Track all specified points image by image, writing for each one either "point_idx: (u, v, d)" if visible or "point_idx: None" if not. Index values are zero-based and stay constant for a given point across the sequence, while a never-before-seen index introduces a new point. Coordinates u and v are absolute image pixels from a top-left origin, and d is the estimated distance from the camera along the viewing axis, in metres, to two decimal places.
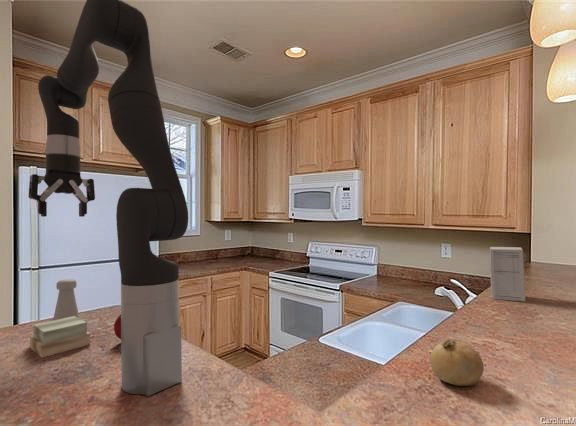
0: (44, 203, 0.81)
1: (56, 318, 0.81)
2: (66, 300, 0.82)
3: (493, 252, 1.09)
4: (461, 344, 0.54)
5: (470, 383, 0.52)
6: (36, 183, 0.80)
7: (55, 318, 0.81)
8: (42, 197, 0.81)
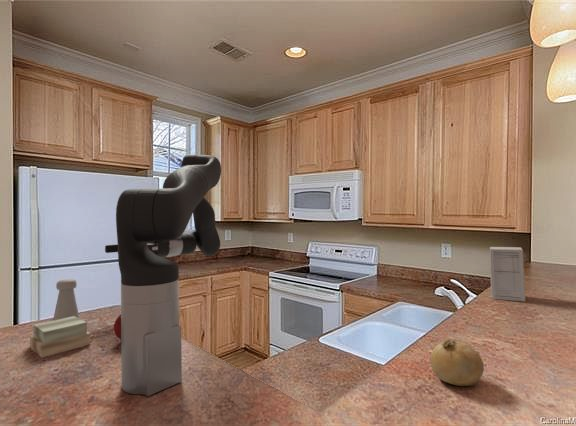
0: None
1: (56, 318, 0.81)
2: (66, 300, 0.82)
3: (493, 252, 1.09)
4: (461, 344, 0.54)
5: (470, 383, 0.52)
6: None
7: (55, 318, 0.81)
8: None
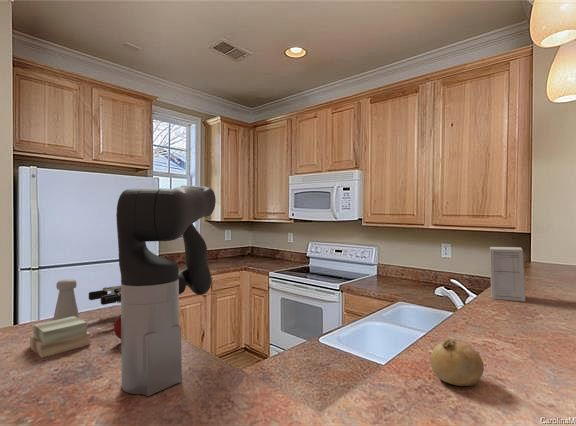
0: (101, 290, 0.94)
1: (56, 318, 0.81)
2: (66, 300, 0.82)
3: (493, 252, 1.09)
4: (461, 344, 0.54)
5: (470, 383, 0.52)
6: (116, 286, 0.99)
7: (55, 318, 0.81)
8: (106, 288, 0.96)
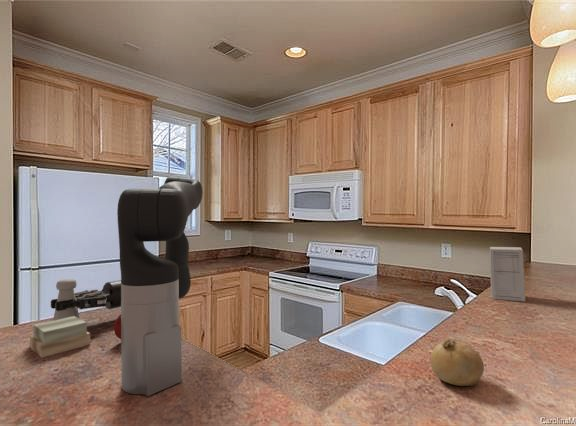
0: None
1: (56, 318, 0.81)
2: None
3: (493, 252, 1.09)
4: (461, 344, 0.54)
5: (470, 383, 0.52)
6: None
7: (55, 318, 0.81)
8: None
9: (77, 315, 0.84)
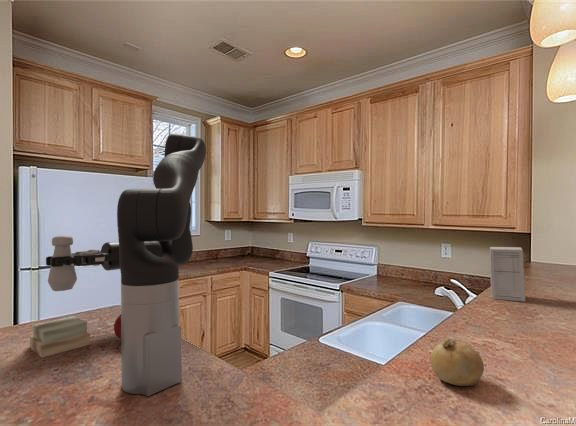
0: None
1: (52, 275, 0.77)
2: None
3: (493, 252, 1.09)
4: (461, 344, 0.54)
5: (470, 383, 0.52)
6: None
7: (51, 275, 0.77)
8: None
9: (74, 273, 0.80)
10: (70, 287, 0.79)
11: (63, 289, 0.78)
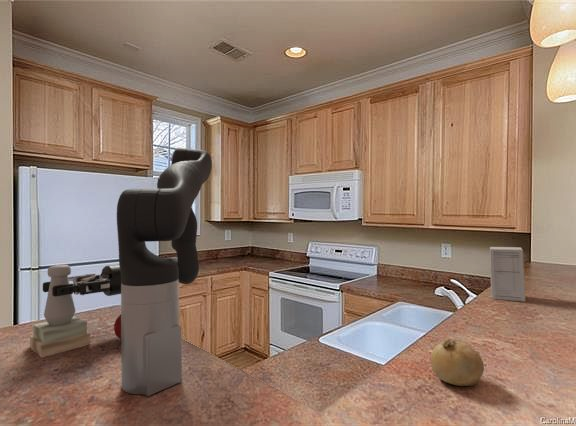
0: None
1: (48, 309, 0.71)
2: None
3: (493, 252, 1.09)
4: (461, 344, 0.54)
5: (470, 383, 0.52)
6: None
7: (47, 309, 0.71)
8: None
9: (72, 306, 0.74)
10: (68, 321, 0.73)
11: (60, 324, 0.72)
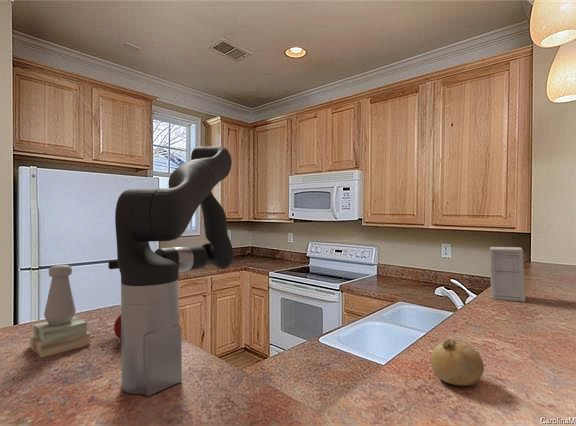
0: None
1: (48, 309, 0.71)
2: (59, 289, 0.72)
3: (493, 252, 1.09)
4: (461, 344, 0.54)
5: (470, 383, 0.52)
6: None
7: (47, 309, 0.71)
8: None
9: (72, 306, 0.74)
10: (68, 321, 0.73)
11: (60, 324, 0.72)
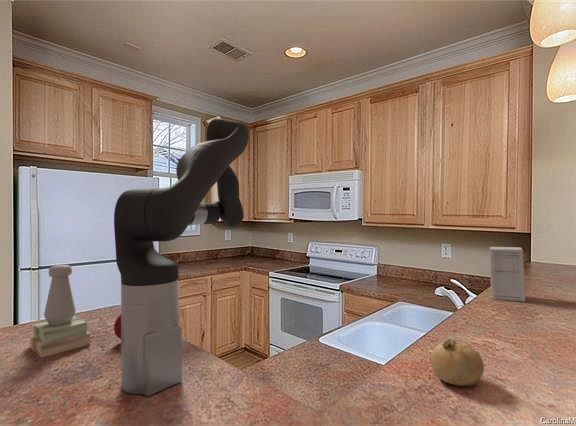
0: None
1: (48, 309, 0.71)
2: (59, 289, 0.72)
3: (493, 252, 1.09)
4: (461, 344, 0.54)
5: (470, 383, 0.52)
6: None
7: (47, 309, 0.71)
8: None
9: (72, 306, 0.74)
10: (68, 321, 0.73)
11: (60, 324, 0.72)
